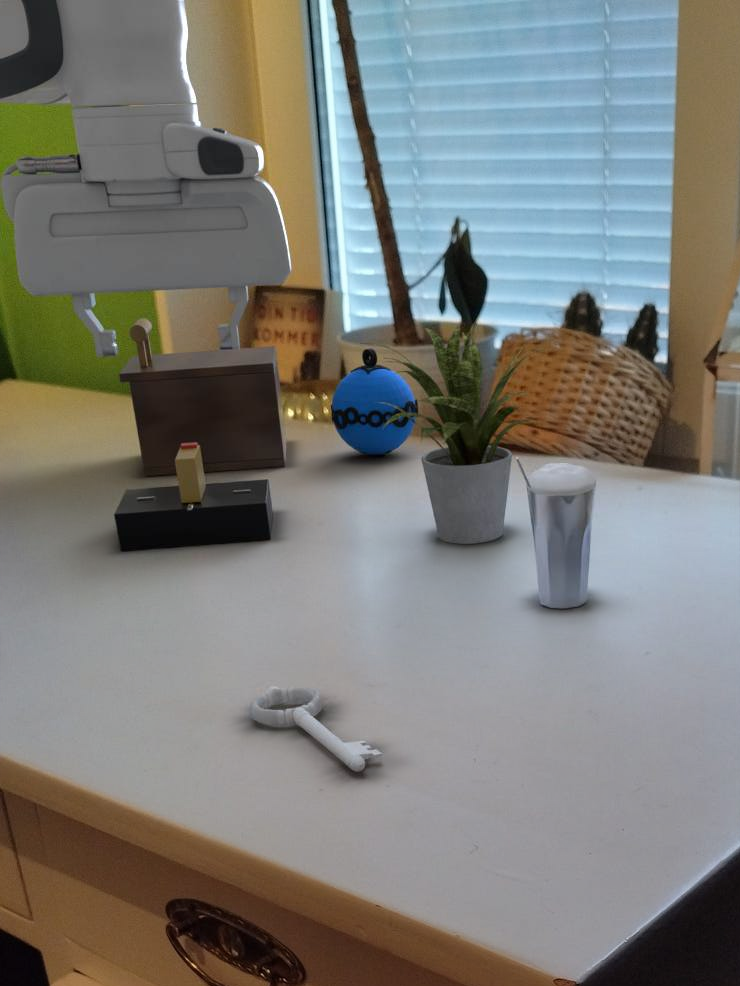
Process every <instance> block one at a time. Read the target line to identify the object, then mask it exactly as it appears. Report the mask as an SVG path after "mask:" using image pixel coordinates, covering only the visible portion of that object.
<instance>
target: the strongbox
mask: <svg viewBox="0 0 740 986" xmlns="http://www.w3.org/2000/svg"><path fill="white" fill-rule="evenodd" d="M128 384H129V389H130V396H131V401H132V402H131V403H132V407H133V414H134V420H135V426H136V431H137V437H138V443H139V449H140V455H141V460H142V461H141V462H142V466H143V472H144V476H145V477H157V476H168V475H169V476H170V475H171V476H172V475H177V472H176V465H175V458H176V456H177V454H178V451H179V449H180V446H181V443H194V442H197V443H198V445H200V450H201V457H202V464H203V470H204V473H211V472H212V473H213V472H214V473H215V472H226V471H227V472H228V471H239V470H240V471H241V470H252V469H253V470H254V469H255V470H256V469H266V468H267V469H268V468H282V467H283V468H284V467H286V461H287V460H286V459H287V446H288V445H287V434H286V425H285V416H284V409H283V407H284V406H283V399H282V389H281V381H280V372H279V364H278V356H277V355H276V361H275V369H274V372H262V373H248V374H234V375H220V376H206V377H192V378H177V379H163V380H149V381H135V382H128Z"/></svg>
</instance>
